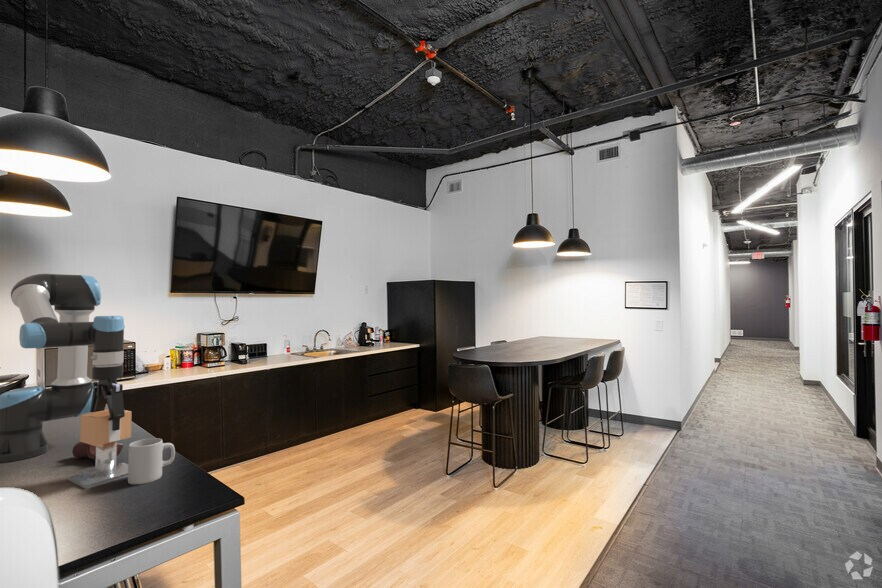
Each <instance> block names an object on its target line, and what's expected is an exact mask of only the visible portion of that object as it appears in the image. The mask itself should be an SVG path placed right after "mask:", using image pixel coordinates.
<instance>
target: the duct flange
mask: <svg viewBox="0 0 882 588" xmlns="http://www.w3.org/2000/svg"><path fill="white" fill-rule="evenodd" d="M117 444H118V443H117V441H114V442H109V443H105V444H101V445H97V446H96V461H95V464H94V465H95V466H94V467H95V469H94V470H90V471H86V472H83V473H80V474H76V475H73V476H72V475H71V476H69V477H68V481H69V482H71V483H73V484H74V485H77V486H78V487H80V488H82V489H85V490H87V489H90V488H94V487H97V486H101V485H105V484H108V483H111V482H114V481H118V480H121V479H124V478H128V463H126V462H120V463H117V457H116V449H117Z"/></svg>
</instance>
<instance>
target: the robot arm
mask: <svg viewBox="0 0 882 588" xmlns="http://www.w3.org/2000/svg"><path fill="white" fill-rule="evenodd" d="M10 300H11V302H12V303H13V305H15V306H16V307H17V308H18V309H19V312H20V314H21V317H22V319H23V324H21V326H20V328H19V345H20V347H21V348H23V349H35V350H36V349H37V350H38V349H48V348H57V349H58V351H57V371H56V372H57V373H56V374H57V375H56V379H55V380H53V381H52V382H51V385H50V388H45V387H44V386H43V385H33V386H28V387H27V386H25V387H21V388H15V389H11V390H8V391H5V392H3V393H1V394H0V463H8V462H16V461H22V460H26V459H30V458H34V457H38V456H41V455H42V454H45V453H47V452H48V451H49V443H48V440H47V437H46V435H45V433H44V430H43V423H44V422H49V421H55V420H62V419H69V418H78V417H79V416H81V414H87V413H93V412H98V411H104V410H106V406H107V408H108V409H107V410H109V414H110V418H109V419H108V421H109V436H108V442H113V441H117V440H118V441H121V440H120V418H122V417H124V416H125V413H124V410H125V405H124V396H123V395H124V394H123V384H122V383H121V384H119V383H118V379H119V378H122V377H124V366H123V363H124V357H125V354H124V353H125V351H124V344H125V343H124V341H125V340H124V339H125V338H124V336H125V327H126V325H125V318H124V317H123V316H122V315H96V316H95V317H94V318H93V321H90V315H91V314H92V313H93V312H94V311H95V309H96V307H97V306H98V307H99V305H101V302H102V294H101V288H100V284H99V281H98V279H97V278H95V276H91V275H82V274H60V273H58V274H56V273H38V274H37V273H36V274H31V275H29V276H27V277H25V278H23V279H20V280H19V281H18V282H16V284H15V285H14V286H13V287H12V288H11V291H10ZM53 306H54V308H53ZM55 312H56V313H55ZM56 314H58V315H59V319H58V317H57V315H56ZM89 346H92V356H90V359H91V360H92V365H93V367H92V368H91V369H92V370H91V378H90V377H88V358H89V357H88V356H89V355H88V354H89ZM93 380H95V381H93Z"/></svg>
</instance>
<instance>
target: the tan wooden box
mask: <svg viewBox="0 0 882 588" xmlns="http://www.w3.org/2000/svg"><path fill="white" fill-rule="evenodd" d="M124 413H125V416H124V417H122V418H120V440H117V441H122V440H126V439H129V438H132V416H133V415H132V413H133V412H132V411H131V410H127V409H126V410H125V409H124ZM109 418H110V414H109V409H104V411H98V412H92V413H91V412H90V413H87V414H81V416H80V422H79V423H80V426H79V428H80V430H79V442H84V443H87V444H90V445H93V446H97V445H101V444H105V443H109V442H108V436H109V421H108V419H109ZM113 442H114V441H113Z"/></svg>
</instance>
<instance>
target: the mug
mask: <svg viewBox="0 0 882 588" xmlns="http://www.w3.org/2000/svg"><path fill="white" fill-rule="evenodd" d="M165 449H170V452H171V453H170V454H171V455H170V457H169V459H166V460H164V459H163V453H164V452H163V451H164V450H165ZM127 455H128V457H127V459H128V462H127V464H128V477H127V482H128V484H130V485H134V486H136V485H144V484H149V483H152V482H155V481H158V480H159V479H161V478H162V476H163V467H166V466H168V465H169V466H170V464H172V463H173V462H174V460H175V457H176V456H175V455H176V448H175V445H174V444H173V443H171V442H163V439H162V438H158V437H151V438H142V439H140V440H135V441H132V442H130V443H129V444H128V454H127Z"/></svg>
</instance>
